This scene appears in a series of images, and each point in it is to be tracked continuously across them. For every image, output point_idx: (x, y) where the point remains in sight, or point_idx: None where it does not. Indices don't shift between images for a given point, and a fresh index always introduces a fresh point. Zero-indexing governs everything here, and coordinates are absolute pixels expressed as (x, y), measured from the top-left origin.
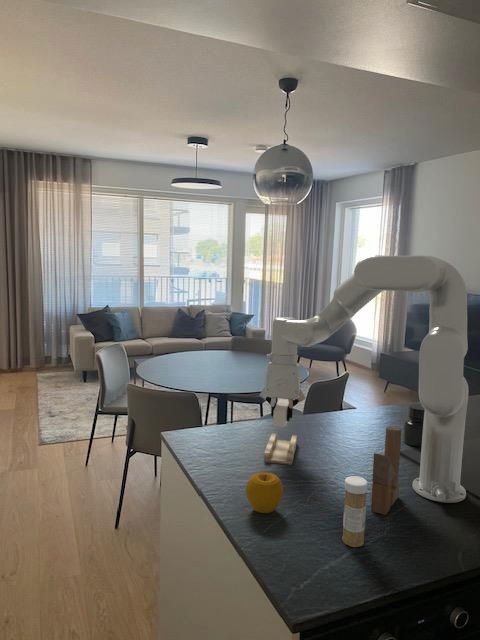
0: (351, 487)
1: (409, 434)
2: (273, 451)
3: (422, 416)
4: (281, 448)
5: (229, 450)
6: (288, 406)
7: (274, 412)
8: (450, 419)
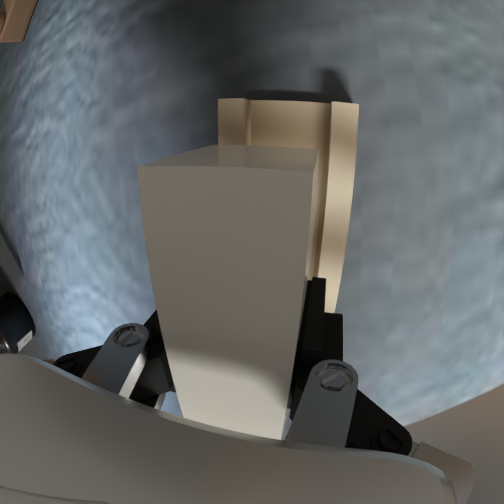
0: None
1: (8, 314)
2: (319, 199)
3: None
4: None
5: (488, 214)
6: (159, 352)
7: (301, 167)
8: None
